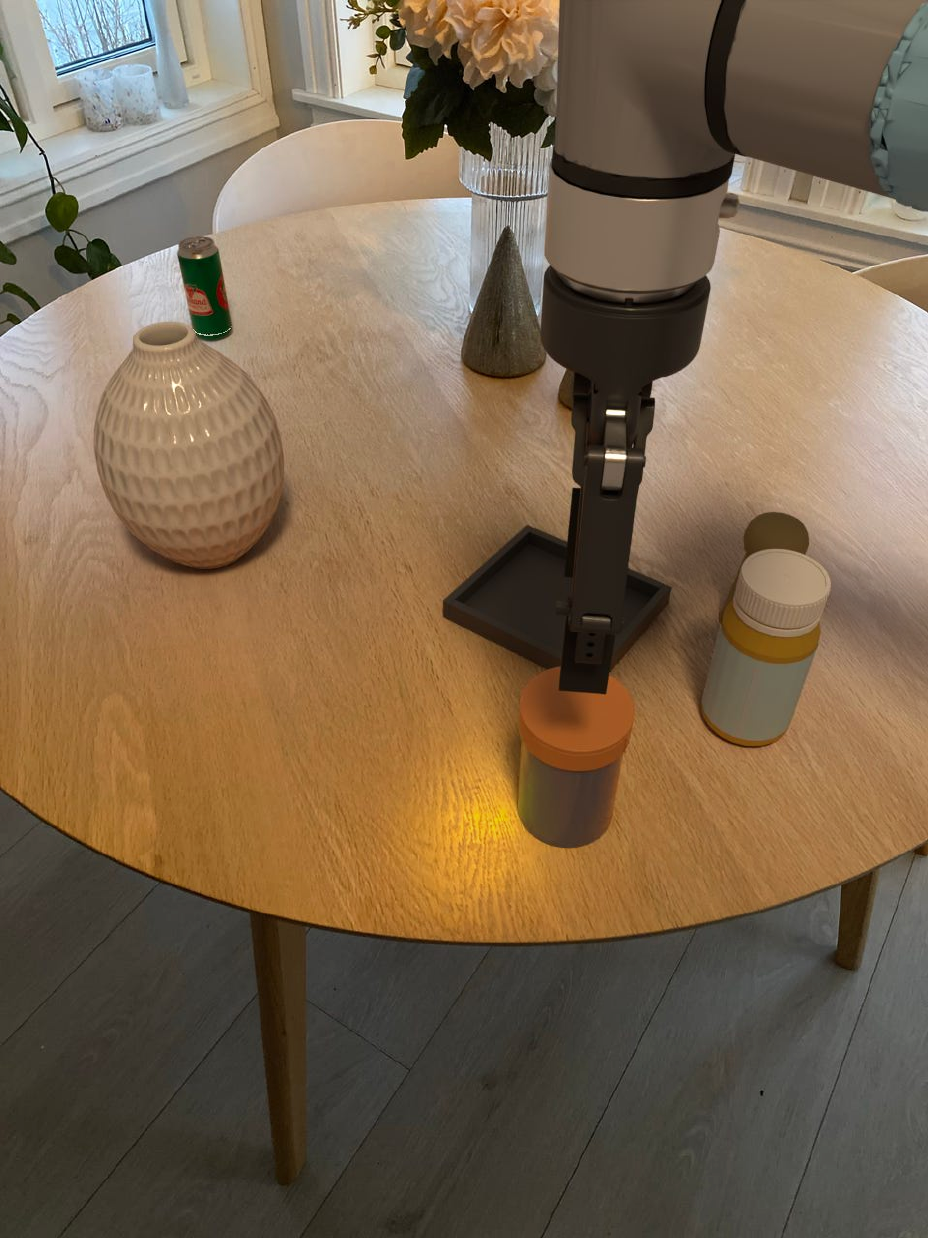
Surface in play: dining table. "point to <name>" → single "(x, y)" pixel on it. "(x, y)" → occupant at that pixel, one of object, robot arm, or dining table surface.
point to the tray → (541, 600)
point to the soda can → (204, 287)
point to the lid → (575, 723)
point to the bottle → (765, 647)
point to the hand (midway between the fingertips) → (583, 627)
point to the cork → (770, 540)
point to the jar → (566, 801)
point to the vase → (188, 449)
